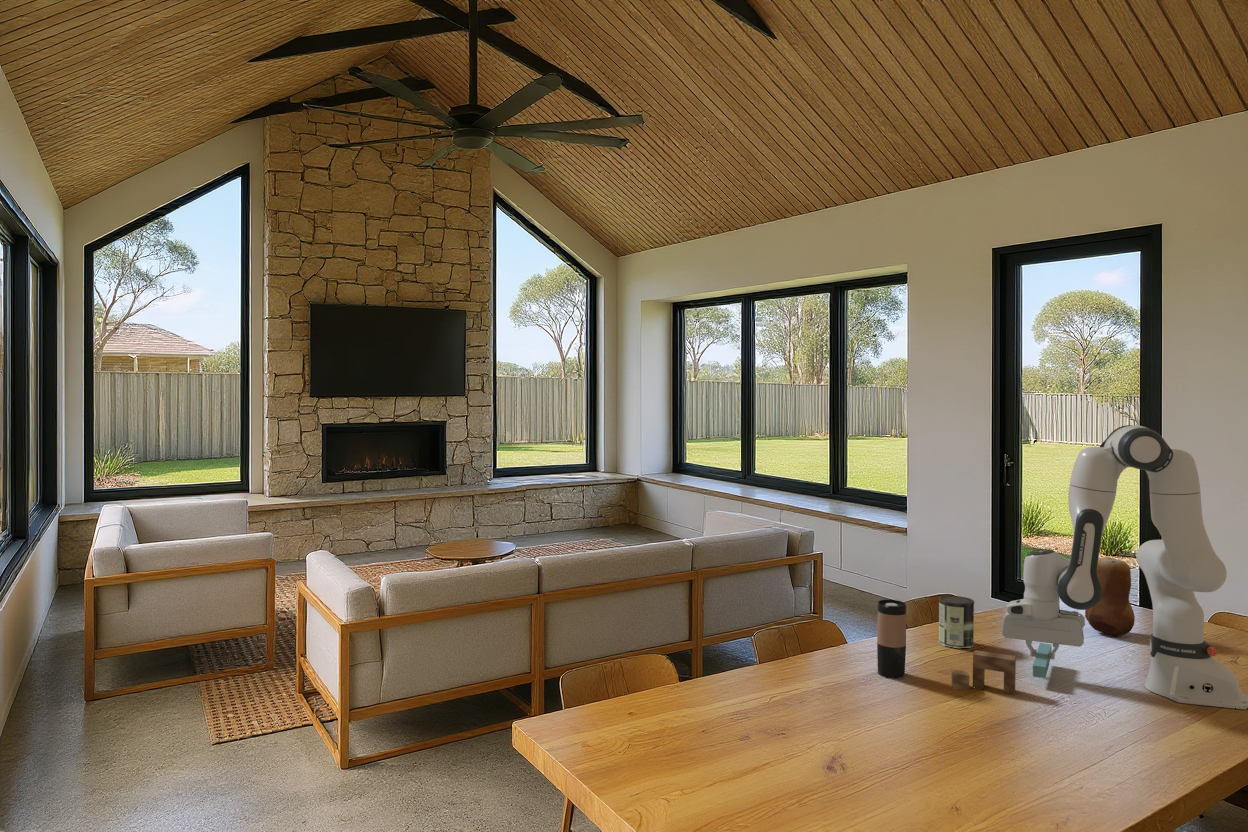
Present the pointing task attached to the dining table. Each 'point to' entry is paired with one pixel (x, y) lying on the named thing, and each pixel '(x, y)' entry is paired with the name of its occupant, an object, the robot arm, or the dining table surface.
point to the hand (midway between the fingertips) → (1042, 657)
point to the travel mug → (891, 638)
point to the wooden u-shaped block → (994, 668)
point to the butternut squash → (1112, 599)
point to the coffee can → (956, 621)
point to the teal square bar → (1041, 661)
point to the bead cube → (959, 679)
